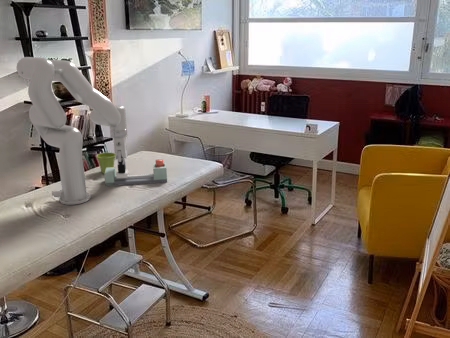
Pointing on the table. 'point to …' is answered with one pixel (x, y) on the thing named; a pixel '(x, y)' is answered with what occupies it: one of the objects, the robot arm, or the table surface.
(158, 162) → the button
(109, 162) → the plant pot
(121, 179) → the rail track
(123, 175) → the carriage
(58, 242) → the table surface
